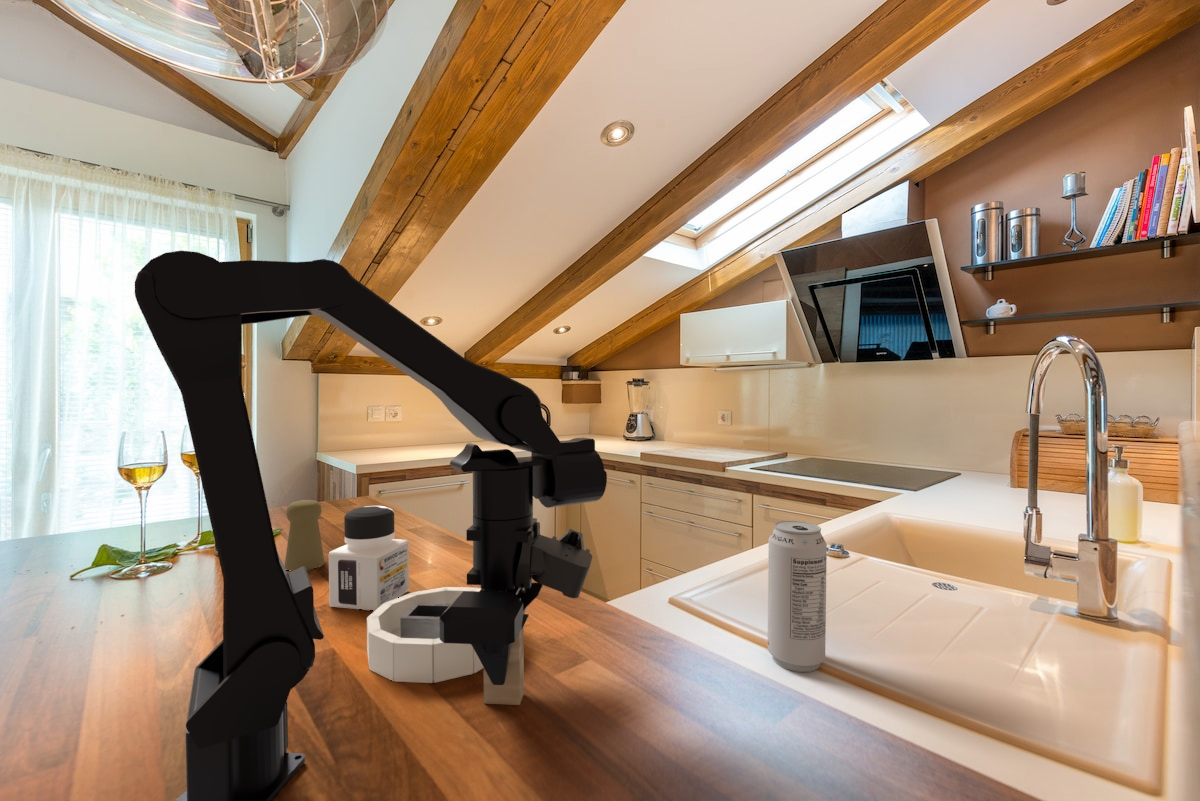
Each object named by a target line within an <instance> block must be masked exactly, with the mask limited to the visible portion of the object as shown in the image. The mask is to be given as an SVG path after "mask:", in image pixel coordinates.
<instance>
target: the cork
mask: <svg viewBox="0 0 1200 801" xmlns="http://www.w3.org/2000/svg"><path fill="white" fill-rule="evenodd" d="M285 510H286V512H285V513H286V518H287V520H288V521H289V528H288V538H287V543H286V544H287V545H286V546H287V547H286V551H285V552H286V553H285V561H284V567H285V569H287V570H291V571H294V570H296V569H298V568H300V567H302V566H305V567H306V570H308V571H311V570H310V569H313V568H316V569H318V568H317V567H319V566H321V565H323V564H324V563H325V564H326V561H325V557H324V556H325V555H324V549H323V543H322V538H321V537H322V536H321V532H320V525H319V518H320V517H321V514H322V506H321V504H320V503H319V501H317V500H315V499H301V500H297V501H293V502H291V503H289V504H288V506H287V507H286V509H285ZM325 564H324V565H325ZM324 565H323V566H324ZM321 567H322V566H321ZM319 568H320V567H319ZM313 570H314V569H313Z"/></svg>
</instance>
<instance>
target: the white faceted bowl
mask: <svg viewBox="0 0 1200 801" xmlns="http://www.w3.org/2000/svg"><path fill="white" fill-rule="evenodd" d="M481 589H482V588H481V587H467V586H464V587H461V586H444V587H436V588H432V589H425V590H424V589H423V590H418V591H413V592H409V593H407V594H403V595H401V596H400V597H399V598H396V599H393V600H391V601H388V602H385V603H383V604H382V605H381V606H380V607H379V608H377V609H376V610H375V611H372V613H371V614H369V615H368V616H367V617H366V648H367V649H366V653H367V662H368V668H369V671H371V672H373V673H375V674H377V675H379V676H381V677H383V678H386V679H387V680H390V681H391V680H392V682H394V683H395V682H396V683H397V682H398V683H421V684H422V683H424V684H433V683H440V682H444V681H448V680H452V679H457V678H461V677H466V676H469V675H473V674H476V673H478V672H479V671H481V670H484V667H483V665H482V663H481V661H480V659H479V657H478V656H477V654H476V652H475V650H474V648H473V647H472V645H471V644H456V643H443V642H442V641H441V640H440V638H436V639H421V638H401V622H400V618H401V617H402V616H403V615H404V614H405V613H406V612H407V611H408V610H409V609H410V608H411V607H412V606H413V605H414V604H415V603H429V604H451V603H452V602H453V601H454V600H455V599H456V598H457V597H458V596H459V595H460V594H461V593H462V592H463V591H477V592H479V591H480V590H481Z"/></svg>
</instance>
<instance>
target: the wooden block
mask: <svg viewBox="0 0 1200 801" xmlns="http://www.w3.org/2000/svg"><path fill="white" fill-rule="evenodd" d="M524 632H525V631H524V627H523V628H522V629H521V630H520V632H519V634H518V636H517V638H516V640H515V642H514V643H511V649H510V656H509V662H508V668H507V673H506V679H505V683H504V684H503V685H493V684H492V682H491V680H490V678H489V676H488V675H487V673H486V671H485V669H484V668H483V704H487V705H488V704H489V705H511V706H521V702H522V700H523V697H524V695H525V694H524V693H525V691H524V690H525V687H524V684H525V681H524V680H525V678H524V675H525V674H524V670H525V668H524V664H525V662H524V660H525V658H524V657H525V656H524V655H525V654H524V651H525V650H524V649H525V648H524V645H525V644H524Z"/></svg>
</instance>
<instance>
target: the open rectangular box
mask: <svg viewBox="0 0 1200 801" xmlns="http://www.w3.org/2000/svg"><path fill="white" fill-rule="evenodd" d="M449 606H450V604H429V603H415V604H414V605H413V606H412V607H411V608H410V609H409V610H408V611H407V612H406V613H405V614H404V615H403V616H402V617H401V618H400V622H401V638H421V639H436V638H440V616H441V615H442V614H443V613H444V612H445V610H446V609H447V608H448V607H449Z"/></svg>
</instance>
